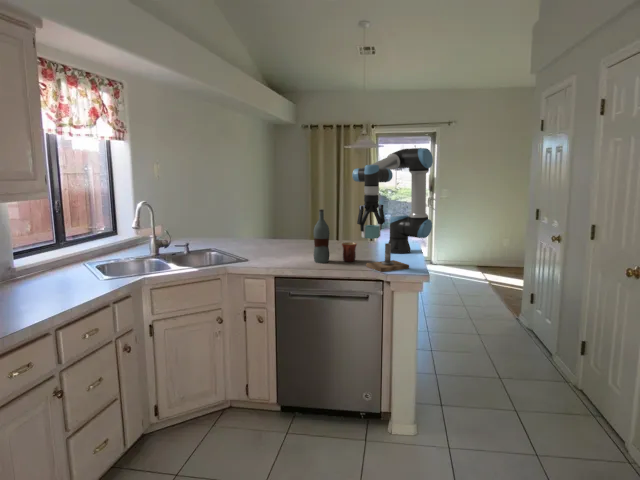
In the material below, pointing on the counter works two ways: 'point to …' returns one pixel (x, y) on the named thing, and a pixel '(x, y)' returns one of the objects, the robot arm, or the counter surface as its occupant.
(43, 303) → the counter surface
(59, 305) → the counter surface
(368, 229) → the ring
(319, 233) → the bottle
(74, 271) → the counter surface
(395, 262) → the post block
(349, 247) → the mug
